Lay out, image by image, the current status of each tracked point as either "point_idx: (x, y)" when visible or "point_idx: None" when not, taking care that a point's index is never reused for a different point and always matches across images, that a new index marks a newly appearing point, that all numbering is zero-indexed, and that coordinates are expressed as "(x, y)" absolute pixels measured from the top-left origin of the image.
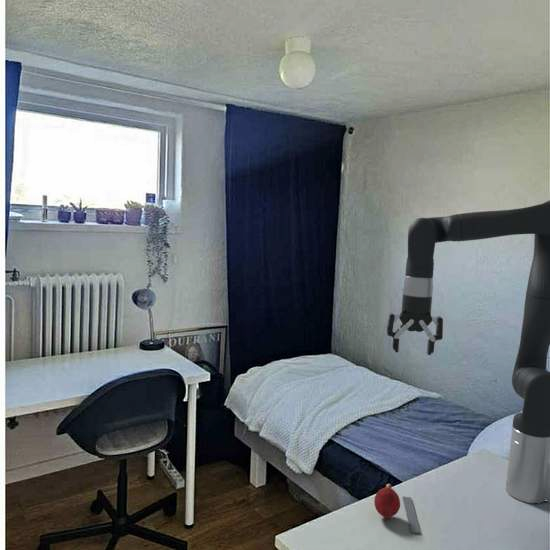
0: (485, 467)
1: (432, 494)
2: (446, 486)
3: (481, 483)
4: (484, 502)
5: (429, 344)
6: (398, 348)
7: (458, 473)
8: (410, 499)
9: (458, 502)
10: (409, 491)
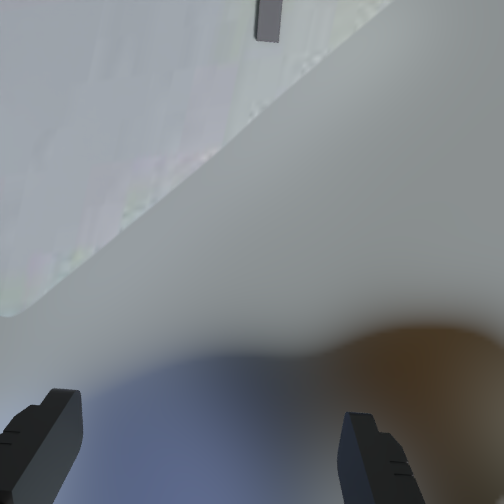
0: (19, 237)
1: (192, 73)
2: (145, 122)
3: (47, 150)
4: (60, 50)
5: (26, 464)
6: (355, 434)
7: (98, 196)
8: (260, 28)
9: (130, 40)
10: (252, 81)
